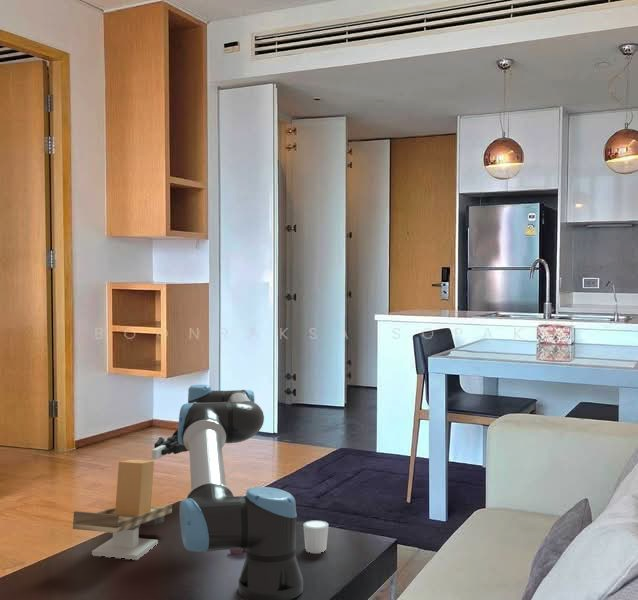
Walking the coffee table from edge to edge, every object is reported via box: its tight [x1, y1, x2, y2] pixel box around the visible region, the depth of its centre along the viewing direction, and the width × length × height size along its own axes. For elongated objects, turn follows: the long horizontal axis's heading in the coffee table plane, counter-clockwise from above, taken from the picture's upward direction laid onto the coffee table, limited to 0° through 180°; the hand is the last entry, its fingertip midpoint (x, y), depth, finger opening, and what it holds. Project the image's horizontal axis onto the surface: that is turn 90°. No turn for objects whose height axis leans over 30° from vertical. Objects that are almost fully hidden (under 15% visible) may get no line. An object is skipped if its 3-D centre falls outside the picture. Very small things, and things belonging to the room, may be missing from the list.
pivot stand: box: [91, 527, 159, 561], centre depth 195 cm, size 12×13×6 cm
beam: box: [72, 504, 173, 534], centre depth 195 cm, size 32×12×7 cm, turn 167°
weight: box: [114, 459, 155, 516], centre depth 199 cm, size 7×7×14 cm
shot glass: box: [302, 520, 330, 554], centre depth 196 cm, size 7×7×7 cm
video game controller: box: [229, 548, 246, 555], centre depth 196 cm, size 10×5×7 cm, turn 169°
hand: (154, 454), depth 211 cm, fingers closed
